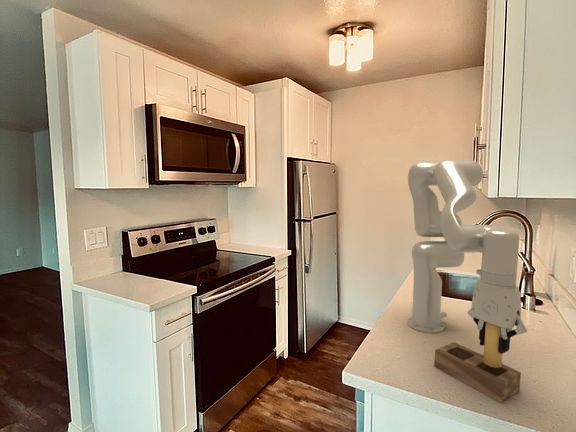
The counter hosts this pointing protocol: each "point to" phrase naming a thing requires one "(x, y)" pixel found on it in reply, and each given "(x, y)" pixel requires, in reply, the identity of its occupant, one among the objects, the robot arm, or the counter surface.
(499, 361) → the peg
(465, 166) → the robot arm
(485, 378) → the socket block
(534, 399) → the counter surface
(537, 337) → the counter surface
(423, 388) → the counter surface
